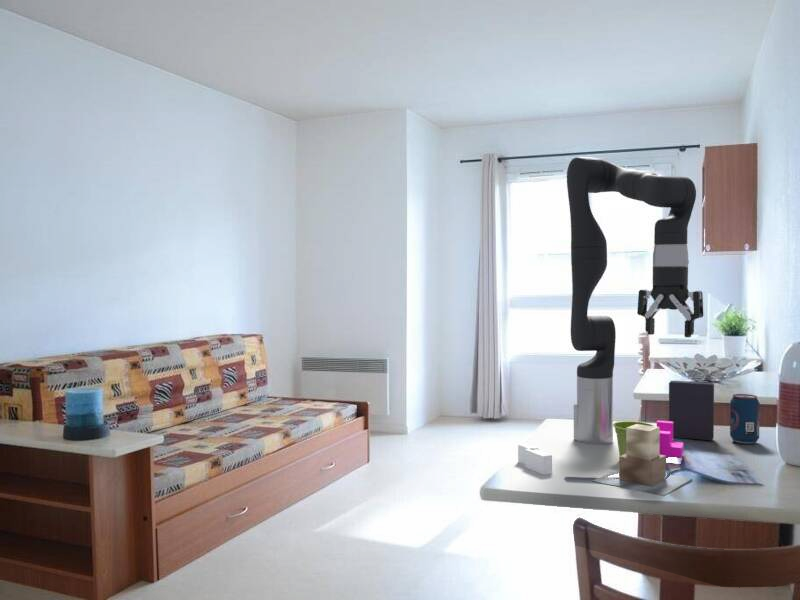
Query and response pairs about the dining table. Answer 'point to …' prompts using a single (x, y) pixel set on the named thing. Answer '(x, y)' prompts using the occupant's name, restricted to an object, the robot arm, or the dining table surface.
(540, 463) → the napkin holder
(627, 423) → the plant pot
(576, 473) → the dining table surface
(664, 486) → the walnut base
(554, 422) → the dining table surface
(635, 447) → the maple brick
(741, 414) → the soda can
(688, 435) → the dark grey box
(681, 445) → the toy block
